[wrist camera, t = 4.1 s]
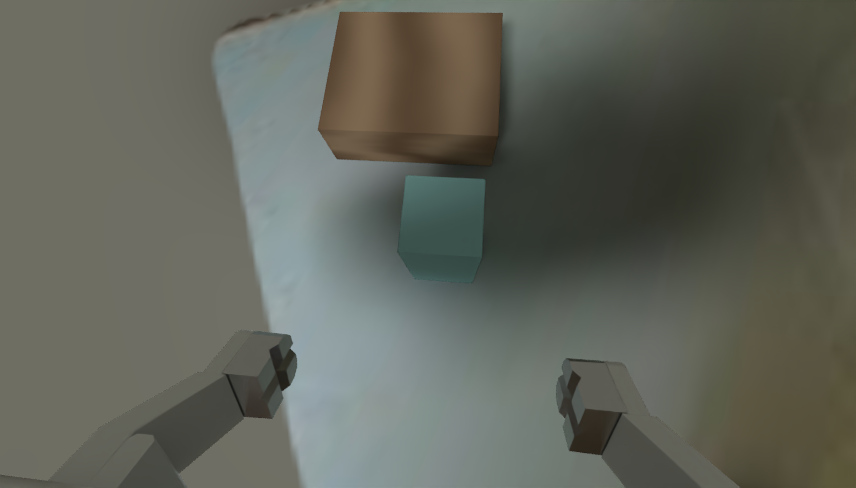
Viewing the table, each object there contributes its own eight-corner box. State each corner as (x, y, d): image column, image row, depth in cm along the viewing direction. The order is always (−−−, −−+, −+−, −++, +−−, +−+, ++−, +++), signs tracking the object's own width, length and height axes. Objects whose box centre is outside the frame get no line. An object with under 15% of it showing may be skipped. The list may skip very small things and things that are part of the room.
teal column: (474, 228, 25) (485, 179, 17) (471, 283, 24) (481, 257, 16) (419, 225, 25) (405, 175, 17) (414, 278, 24) (397, 251, 16)
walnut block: (495, 56, 28) (502, 13, 25) (491, 165, 26) (498, 135, 22) (354, 54, 29) (340, 11, 26) (336, 159, 27) (317, 129, 23)
